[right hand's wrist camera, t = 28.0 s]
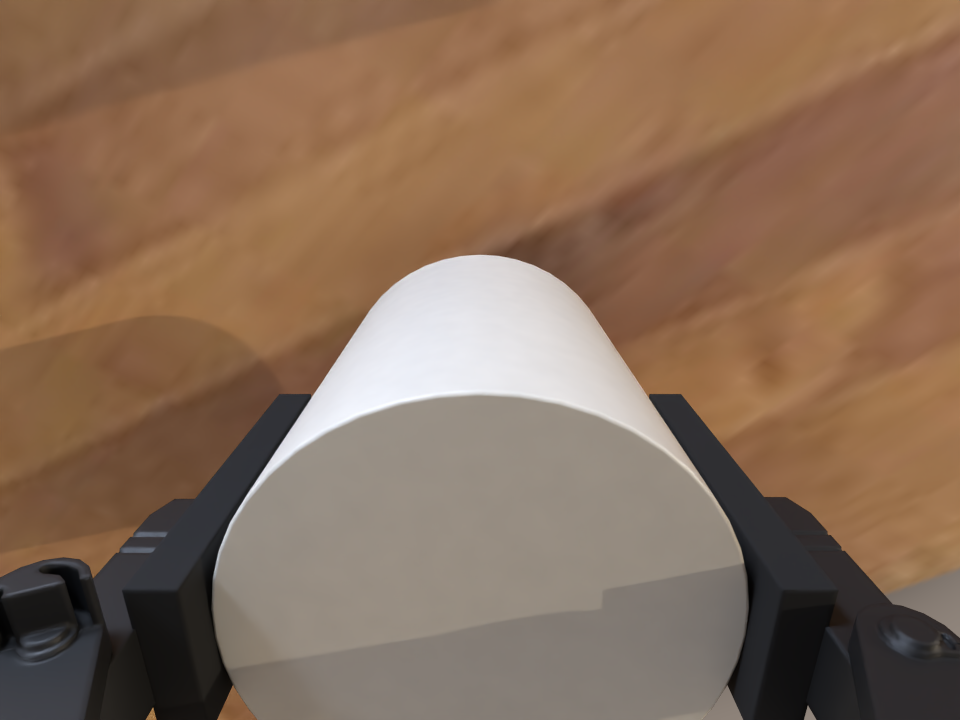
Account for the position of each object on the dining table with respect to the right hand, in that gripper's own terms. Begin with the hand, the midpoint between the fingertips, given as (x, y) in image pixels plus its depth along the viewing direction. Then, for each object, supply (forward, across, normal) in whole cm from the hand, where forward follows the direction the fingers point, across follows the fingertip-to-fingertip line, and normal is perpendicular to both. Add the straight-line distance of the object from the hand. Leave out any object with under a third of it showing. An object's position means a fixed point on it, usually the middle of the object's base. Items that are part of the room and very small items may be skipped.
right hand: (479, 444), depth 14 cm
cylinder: (+4, 0, 0) cm, 4 cm away
